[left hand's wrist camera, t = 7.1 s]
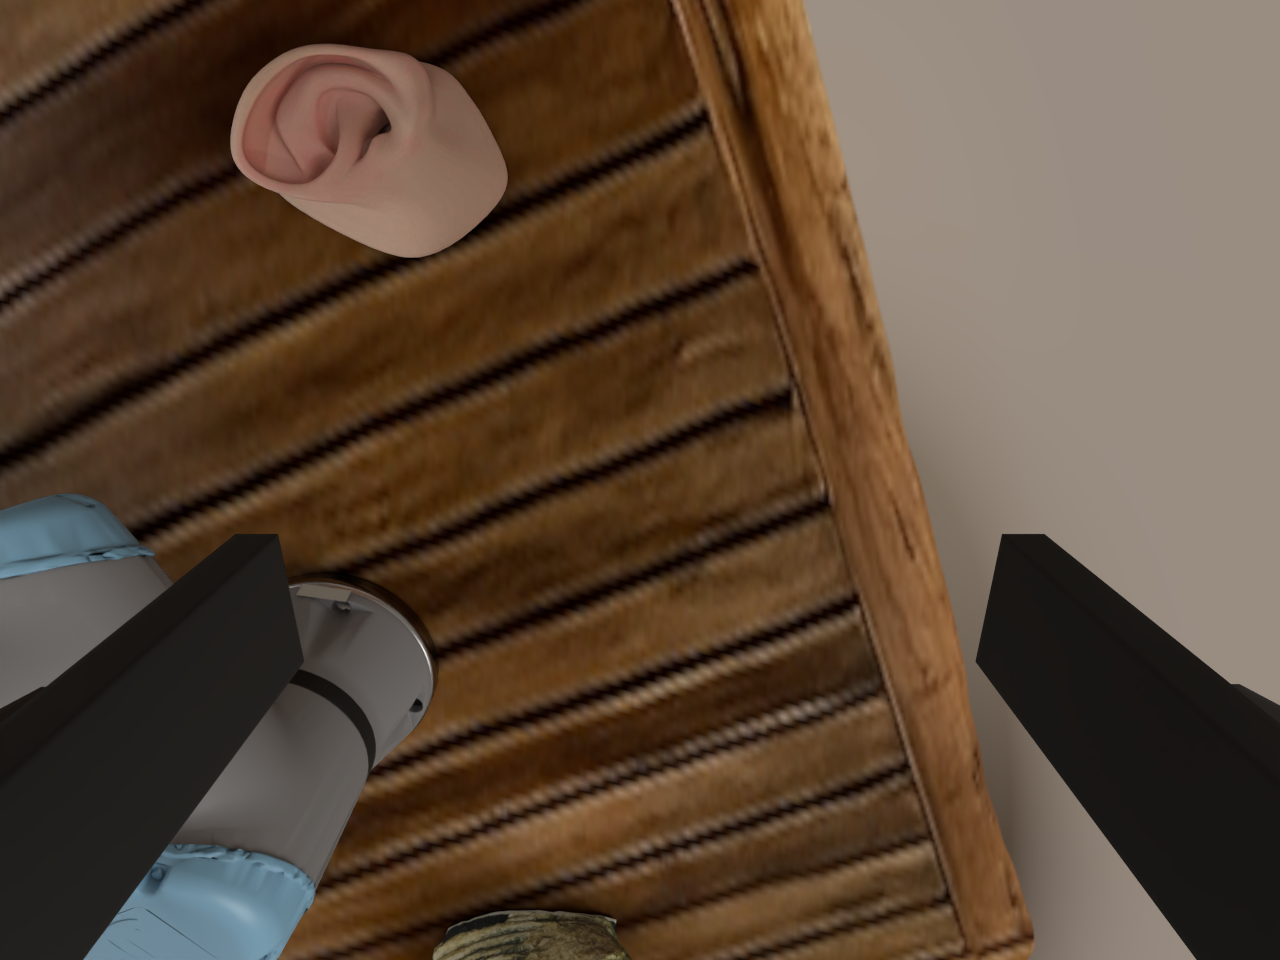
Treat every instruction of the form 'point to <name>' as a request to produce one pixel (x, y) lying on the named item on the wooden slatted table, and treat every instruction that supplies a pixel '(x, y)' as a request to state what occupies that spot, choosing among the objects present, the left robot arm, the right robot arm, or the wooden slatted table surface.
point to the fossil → (532, 937)
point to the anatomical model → (370, 146)
